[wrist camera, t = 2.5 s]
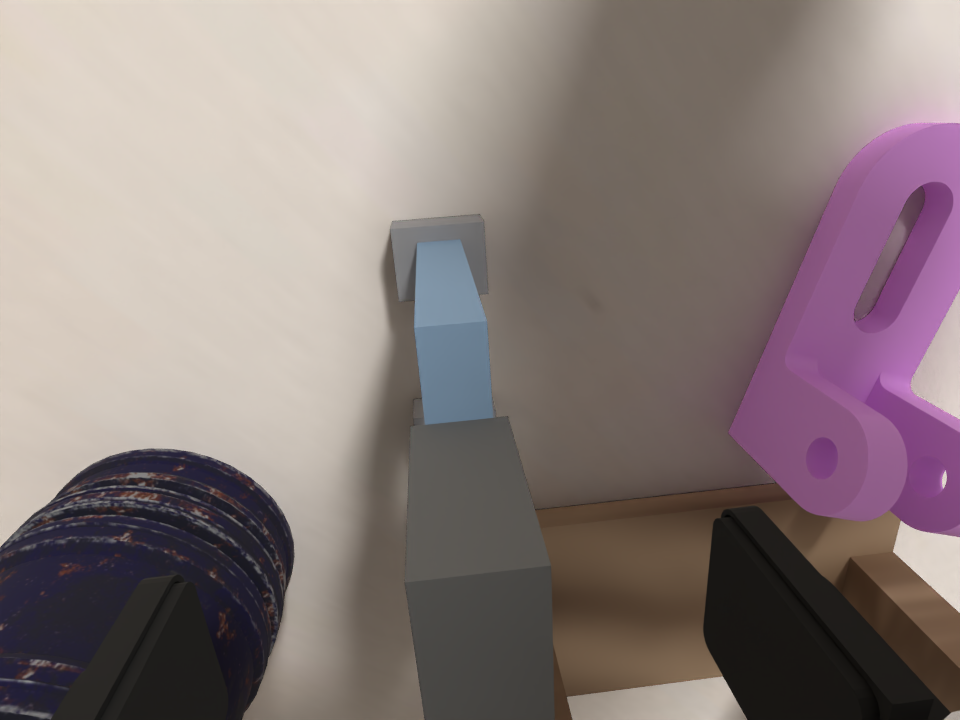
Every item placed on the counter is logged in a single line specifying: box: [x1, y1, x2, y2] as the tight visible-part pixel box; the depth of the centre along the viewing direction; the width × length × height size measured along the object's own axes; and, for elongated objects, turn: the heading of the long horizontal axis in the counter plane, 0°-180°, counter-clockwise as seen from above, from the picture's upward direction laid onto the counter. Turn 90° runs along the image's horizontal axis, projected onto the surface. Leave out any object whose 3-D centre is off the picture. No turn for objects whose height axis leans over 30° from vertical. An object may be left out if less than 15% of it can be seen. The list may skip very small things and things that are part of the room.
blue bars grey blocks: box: [390, 214, 555, 720], centre depth 15 cm, size 9×3×14 cm, turn 4°
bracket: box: [728, 123, 960, 537], centre depth 20 cm, size 13×6×7 cm, turn 167°
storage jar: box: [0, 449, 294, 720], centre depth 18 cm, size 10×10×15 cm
